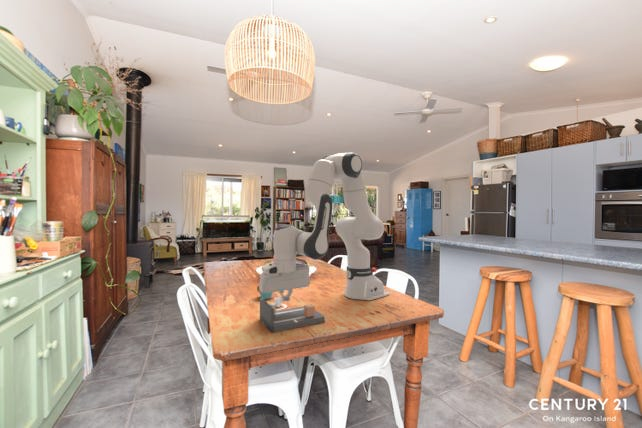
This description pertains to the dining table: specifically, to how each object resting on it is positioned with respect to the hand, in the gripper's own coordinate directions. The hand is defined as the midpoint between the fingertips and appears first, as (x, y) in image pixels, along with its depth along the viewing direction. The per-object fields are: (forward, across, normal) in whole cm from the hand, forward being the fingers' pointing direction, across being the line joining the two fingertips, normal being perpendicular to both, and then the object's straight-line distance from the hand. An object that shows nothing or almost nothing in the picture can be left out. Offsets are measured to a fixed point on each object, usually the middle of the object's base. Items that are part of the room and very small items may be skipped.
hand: (285, 300), depth 114 cm
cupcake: (+7, 0, -28) cm, 28 cm away
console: (+6, -1, +5) cm, 8 cm away
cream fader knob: (+4, +6, +1) cm, 7 cm away
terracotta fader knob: (+4, -6, +8) cm, 11 cm away
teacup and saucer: (+7, +1, -15) cm, 17 cm away
